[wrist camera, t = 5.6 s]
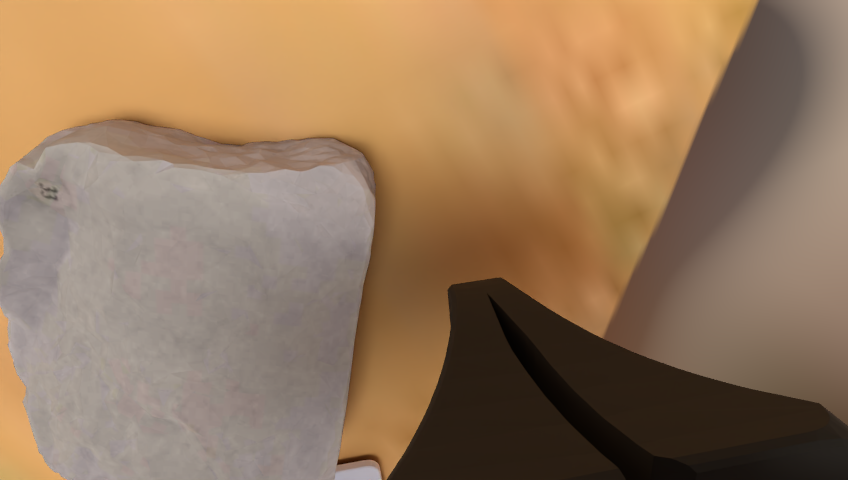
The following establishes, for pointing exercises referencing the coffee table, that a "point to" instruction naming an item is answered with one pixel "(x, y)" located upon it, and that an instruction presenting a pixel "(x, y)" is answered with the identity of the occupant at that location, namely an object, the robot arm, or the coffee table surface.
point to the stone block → (185, 301)
